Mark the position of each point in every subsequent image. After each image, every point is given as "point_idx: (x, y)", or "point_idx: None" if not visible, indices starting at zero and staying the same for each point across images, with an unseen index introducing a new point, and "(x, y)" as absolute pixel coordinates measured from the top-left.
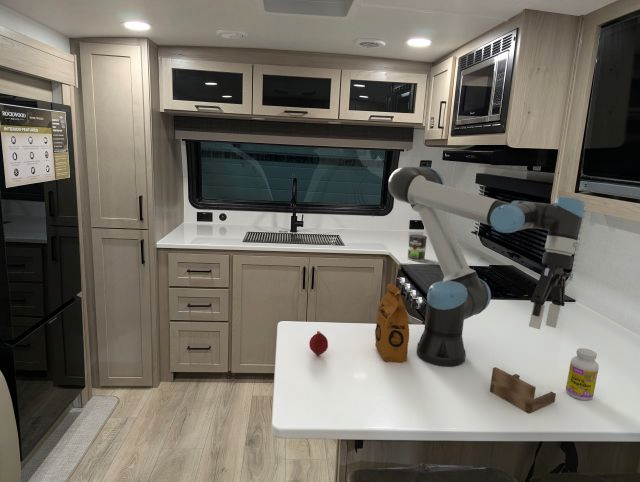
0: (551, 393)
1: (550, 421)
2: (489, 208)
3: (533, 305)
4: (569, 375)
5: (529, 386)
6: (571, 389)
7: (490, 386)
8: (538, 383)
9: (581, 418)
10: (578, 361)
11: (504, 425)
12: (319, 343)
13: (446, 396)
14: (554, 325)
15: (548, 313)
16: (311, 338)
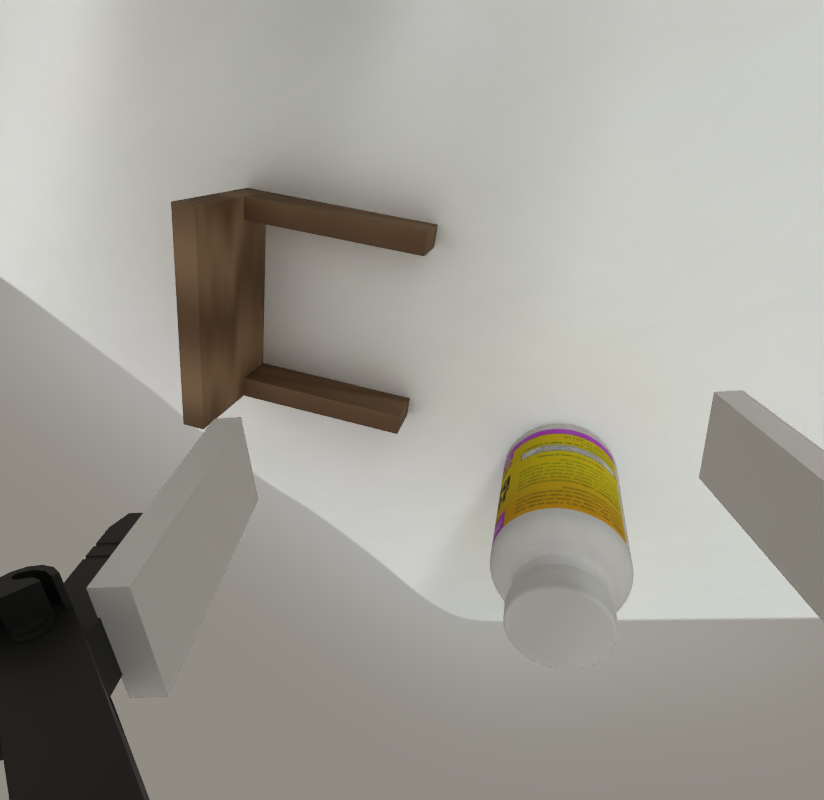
0: (382, 420)
1: (269, 439)
2: None
3: (109, 562)
4: (522, 477)
5: (184, 408)
6: (506, 464)
7: (232, 191)
8: (521, 312)
9: (378, 505)
10: (509, 564)
11: (113, 344)
12: None
13: (41, 76)
14: (713, 480)
15: (794, 466)
16: None
